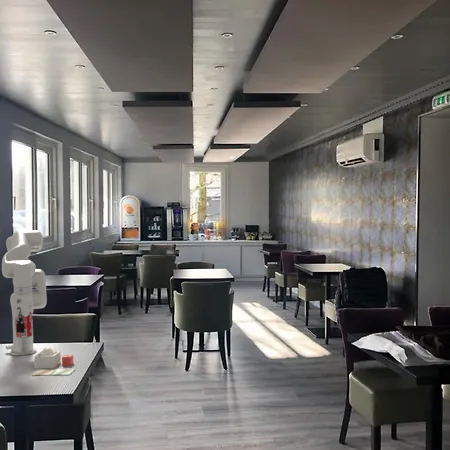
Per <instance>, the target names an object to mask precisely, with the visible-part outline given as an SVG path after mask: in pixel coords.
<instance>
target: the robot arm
mask: <svg viewBox="0 0 450 450" xmlns="http://www.w3.org/2000/svg"><path fill="white" fill-rule="evenodd" d="M43 244H44V236H43V233H42V232H41V231H39V230H18V231H15V232H14V233H13V234H12V236H9V237H7V239H6V240H5V245H6V249H7V252H6V253H5V254H4V255H3V257H2V260H1V272H2V273H1V274H2V276H3V277H4V278H6V279H12V284H13V293H11V295H10V299H9V300H10V301H9V302H10V307H11V314H12V315H11V316H12V341H13V342H12V344H6V345H5V349H6V350H10V351H9V353H10V355H11V356H27V355H32V354H35V353H36V352H37V347H36V348H35V347H34V328H33V327H34V326H33V322H34V321H33V319H32V330H33V331H32V336H30V337H29V338H24V339H20V338H18V337H16V327H15V318H16V324H17V333H20V332H24V323H23V321H24V317H27V316H28V314H29V312H31V313H32V315H33V314H34V310H38V309H43V308H45V307H46V305H47V301H48V298H47V297H48V296H47V283H46V282H47V280H46V278H47V277H46V274H45V271H44V270H42V269H39V268H38V269H37V266H36V264H35V263H34V262H33V261H32V260H30V255H31V253H32V252H34V253H35V252H40V251H41V250H42V249H43V246H44V245H43ZM19 315H22V316H19ZM21 318H22V320H21Z"/></svg>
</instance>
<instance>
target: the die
mask: <svg viewBox="0 0 450 450" xmlns="http://www.w3.org/2000/svg"><path fill="white" fill-rule="evenodd" d="M73 364H74V355H73V354H65V355H63V356H61V366H62V367H66V366H67V367H69V366H71V367H72V365H73Z"/></svg>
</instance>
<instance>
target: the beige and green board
mask: <svg viewBox="0 0 450 450" xmlns="http://www.w3.org/2000/svg"><path fill="white" fill-rule="evenodd" d="M75 370H76V369H75V368H67V369H66V368H63V369H61V368H60V369H59V368H58V369H55V368H42V369H37V370H36V371H35V372H33V373H32V374H31V376H32V377H39V376H41V377H42V376H45V377H46V376H47V377H49V376H51V377H52V376H70V375H71V374H73V373H74V372H75Z"/></svg>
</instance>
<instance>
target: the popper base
mask: <svg viewBox="0 0 450 450" xmlns="http://www.w3.org/2000/svg"><path fill="white" fill-rule="evenodd" d="M42 351H43V350H42ZM42 351H40V352H42ZM54 351H55V354H54V355H53V356H40V352H38V353H37V354H36V355H34V369H55V368H56V367H57V366H58V365H60V364H62V355H61V350H60V351H59V350H54Z"/></svg>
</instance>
